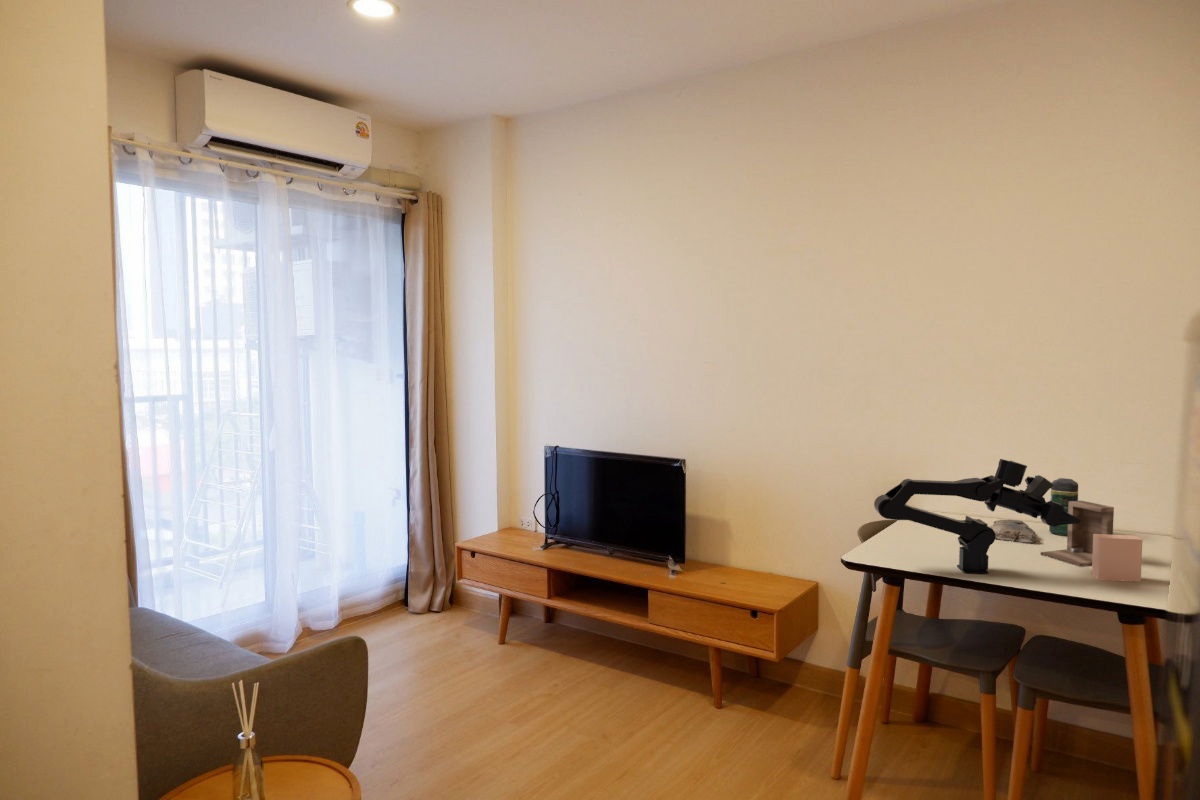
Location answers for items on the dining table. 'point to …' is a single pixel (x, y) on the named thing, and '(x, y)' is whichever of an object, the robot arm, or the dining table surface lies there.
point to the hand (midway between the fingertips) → (1072, 517)
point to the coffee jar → (1063, 499)
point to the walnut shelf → (1084, 532)
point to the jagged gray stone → (1013, 531)
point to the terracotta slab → (1117, 557)
